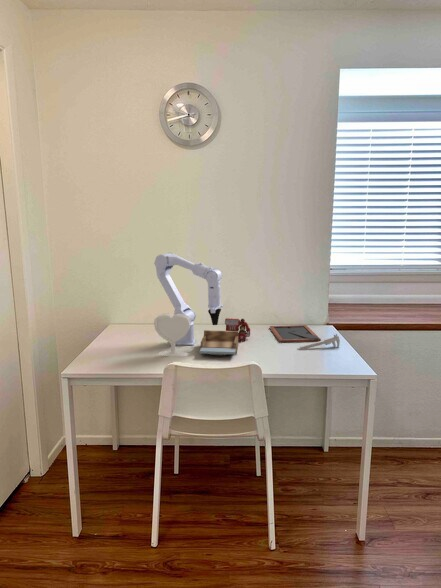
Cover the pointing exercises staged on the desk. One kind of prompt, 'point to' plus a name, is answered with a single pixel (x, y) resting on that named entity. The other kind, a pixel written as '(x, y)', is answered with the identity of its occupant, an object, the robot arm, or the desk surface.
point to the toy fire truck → (234, 326)
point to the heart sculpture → (172, 330)
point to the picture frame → (294, 334)
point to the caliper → (323, 342)
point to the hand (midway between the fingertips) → (215, 324)
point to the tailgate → (218, 351)
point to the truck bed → (220, 339)
